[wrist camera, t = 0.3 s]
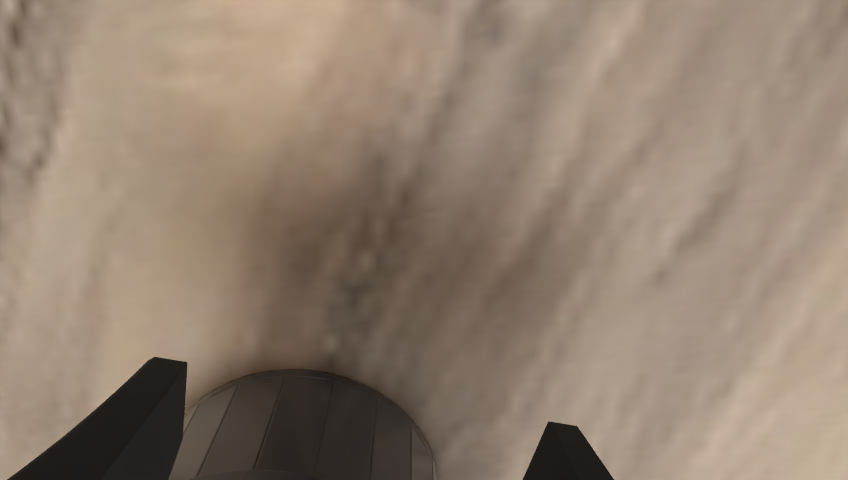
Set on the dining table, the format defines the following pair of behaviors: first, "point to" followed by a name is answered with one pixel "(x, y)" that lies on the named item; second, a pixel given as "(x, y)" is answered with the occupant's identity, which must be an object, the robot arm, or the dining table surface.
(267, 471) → the lid
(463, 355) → the dining table surface
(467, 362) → the dining table surface
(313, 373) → the pot
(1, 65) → the dining table surface
